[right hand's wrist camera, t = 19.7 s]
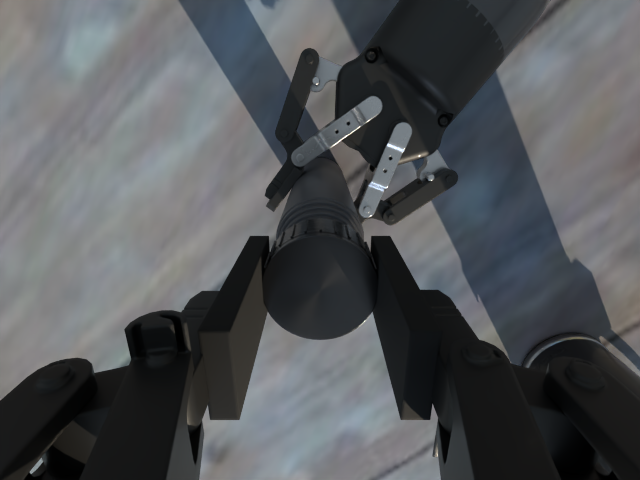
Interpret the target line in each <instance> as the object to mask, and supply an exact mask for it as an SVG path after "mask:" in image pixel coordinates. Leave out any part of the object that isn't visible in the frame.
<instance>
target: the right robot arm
mask: <svg viewBox="0 0 640 480" xmlns="http://www.w3.org/2000/svg"><path fill="white" fill-rule="evenodd" d="M269 252H270V250H269V236H250V237H249V239H248V241H247V243H246V245H245V246H244V248H243V250H242V252H241V254H240V255H239V257H238V259H237V261H236V262H235V264H234V266H233V268H232V270H231V271H230V273H229V275H228V277H227V279H226V280H225V282H224V284H223V286H222V288H221V289H220V291H201V292H200V293H199V294H197V295H196V296H194V297H193V298H191V299H190V300H189V302H188V303H187V305H186V306H185V308H184V310H183V311H182V312H177V311H173V310H164V311H157V312H152V313H149V314H146V315H143V316H141V317H139V318H137V319H135V320H134V321H132V322H131V323H130V324H129V325H128V326H127V327H126V328H125V329H124V330H125V334H126V338H127V343H128V347H129V351H130V356H131V362H130V364H129V365H128V366H125V367H121V368H117V369H112V370H107V371H102V372H97V373H94V370H93V366H92V364H91V363H90V362H89V361H88V360H87V359H81V358H71V359H64V360H59V361H56V362H53V363H50V364H49V365H47V366H45V367H42V368H40V369H38V370H37V371H35V372H34V373H33V374H31V375H30V376H28V377H27V378H26V379H25V380H23V381H22V382H21V383H20V384H19V385H18V386H17V387H15V388H14V389H13V390H12V391H11V392H10V393H9V394H8V395H6V396H5V397H4V398H3V399H2V400H1V401H0V480H199V476H200V466H201V457H202V448H203V439H204V430H203V423H202V418H203V416H204V413H205V410H206V408H207V405H208V408H209V415H210V420H239V419H240V415H241V412H242V408H243V404H244V400H245V396H246V392H247V389H248V385H249V381H250V377H251V373H252V369H253V366H254V362H255V358H256V354H257V350H258V346H259V343H260V339H261V335H262V331H263V327H264V323H265V320H266V316H267V312H268V311H267V309H266V307H265V304H264V301H263V289H262V277H263V273H264V270H265V269H263V268H264V265H265V262H266V259H267V257H268V254H269ZM371 254H372V256H373V259H374V262H375V265H376V267H377V271H376V273H377V276H378V293H377V302H376V305H375V307H374V309H373V315H374V319H375V323H376V326H377V330H378V334H379V338H380V342H381V346H382V349H383V353H384V357H385V361H386V365H387V369H388V372H389V376H390V380H391V384H392V388H393V392H394V395H395V399H396V403H397V407H398V411H399V415H400V418H401V420H430V417H431V410H432V403H433V405H434V408H435V411H436V413H437V416H438V423H437V430H436V436H435V443H434V449H433V457H437V455H438V457H439V466H440V475H441V480H640V398H639V397H638V396H637V395H635V394H634V393H633V392H632V391H631V390H630V389H629V388H627V387H626V386H625V385H624V384H623V383H622V382H620V381H619V380H618V379H617V378H616V377H615V376H613V375H612V374H611V373H609V372H608V371H606V370H605V369H603V368H602V367H600V366H597V365H595V364H593V363H591V362H589V361H586V360H582V359H579V358H575V357H565V356H562V357H557V358H553V359H552V360H551V361H550V362H549V364H548V368H547V371H546V372H545V371H540V370H536V369H531V368H526V367H521V366H518V365H514V364H511V363H510V361H509V359H508V358H507V356H506V355H505V354H504V352H503V351H501V350H500V349H499V348H497V347H496V346H494V345H492V344H490V343H487V342H485V341H482V340H479V339H478V338H477V336H476V335H475V333H474V332H473V330H472V329H471V327H470V326H469V325H468V323H467V322H466V320H465V319H464V317H463V316H461V313H460V312H459V310H458V309H456V306H455V304H454V303H453V302H452V300H451V299H450V298H449V297H448V296H447V295H445V294H444V293H442V292H441V291H439V290H420V289H419V287H418V285H417V284H416V282H415V280H414V278H413V276H412V275H411V273H410V271H409V269H408V267H407V266H406V264H405V262H404V260H403V258H402V257H401V255H400V253H399V251H398V250H397V248H396V246H395V244H394V242H393V241H392V239H391V237H390V236H371ZM599 455H600V457H601V458H602V459H603V460H604V461H605V463H606V464H607V465H608V466H609V467H610V469H611V470H612V471H611V473H608V472H607V471H606V470H605V469H604V468H603V467H602V465H601V464H600V463H599V462H598V458H599ZM41 457H42V460H43V463H42V464H41V465H40V466H39V468H38V469H37V470H36V471H35V472H33V473H32V474H30V470H31V469H32V468H33V467H34V466H35V464H36V463H37V462H38V461H39V460H40V458H41Z"/></svg>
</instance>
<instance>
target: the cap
mask: <svg viewBox="0 0 640 480" xmlns="http://www.w3.org/2000/svg"><path fill="white" fill-rule="evenodd" d="M263 269H265V270H264V273H263V277H262V289H263V301H264V304H265V307H266V309H267V311H268V312H269V314H270V315H271V317H272V318H273V319H274V320H275V322H277V323H278V324H279V325H280V326H281V327H282V328H284V329H285V330H287V331H289V332H290V333H292V334H295V335H297V336H300V337H303V338H307V339H314V340H326V339H333V338H337V337H341V336H343V335H346V334H348V333H350V332H352V331H353V330H355V329H356V328H358V327H359V326H360V325H362V324H363V323H364V322H365V321H366V319H367V318H368V317H369V316H370V314H371V313H372V311H373V309H374V307H375V305H376V302H377V293H378V276H377V273H376V271H377V267H376V265H375V262H374V259H373V256H372V254H371V253H370V250H369V247H368V245H367V242H364V240H363V239H362V238H361V237H360V235H359V232H355V231H354V230H353V229H352V228H350V227H349V226H348V224H346V225H345V224H343V223H341V222H338V221H336V220H335V219H334V220H329V219H322V217H320V219H311V220H308V219H306V221H303V222H300V223H297V224H295V223H294V224H293V226H292V227H290V228H289V229H287V230H286V231H285V232H284V231H283V232H282V234H281V236H280V237H279V238H278V239H277V241H274V243H273V246H272V249H271V252H269V254H268V257H267V259H266V262H265V265H264V268H263Z"/></svg>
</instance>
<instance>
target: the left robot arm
mask: <svg viewBox="0 0 640 480" xmlns="http://www.w3.org/2000/svg"><path fill="white" fill-rule="evenodd" d="M550 1H551V0H400V1H399V2H398V3H397V5H396V6H395V8H394V9H393V10H392V12H391V13H390V14H389V16H388V17H387V19H386V20H385V21H384V23H383V24H382V26H381V27H380V28H379V30H378V31H377V33H376V34H375V35H374V37H373V38H372V39H371V41H370V42H369V44H368V45H367V46H366V48H365V49H364V51H363V52H362V53H361V55H359V56H358V57H357V58H356V59H354V60H352V61H350V62H348V63H346V64H345V65H344V66H343V67H342V66H340V65H338V64H335V63H333V62H331V61H329V60H326V59H324V58H322V57H320V56H319V55H318V53H317V52H316V51H315V50H314V49H311V48H307V49H305V50H304V51H303V52H302V53H301V55H300V58H299V61H298V64H297V67H296V70H295V74H294V77H293V80H292V83H291V86H290V89H289V92H288V95H287V98H286V101H285V104H284V107H283V110H282V113H281V116H280V119H279V122H278V125H277V128H276V131H275V134H276V137H277V139H278V140H279V141H280V142H281V143H282V145H283V146H284V148H285V149H286V151H287V161H286V162H285V164H284V165H283V167H282V168H281V169H280V171H279V172H278V173H277V175H276V176H275V178H274V179H273V180H272V182H271V183H270V184H269V186H268V187H267V189H266V193H265V196H266V197H267V198H269V199H270V200H269V202H268V203H267V205H266V207H268V208H269V209H270V210H272V211H273V212H274V211H275V210H276V208H277V207H278V206H279V204H280V203H281V202H282V200H283V199H284V198H285V196H286V195H287V194H288V192H289V191H290V190H291V188H292V187H293V186H294V184H295V183H296V181H297V180H298V179H299V178H300V176H301V175H302V174H303V172H304V166H305V165H306V164H307V163H309V162H310V161H312V160H313V159H314V158H316V157H317V156H319V155H320V154H321V153H323V152H324V151H326V150H328V149H330V148H331V147H333V146H334V145H335V144H337V143H338V142H340V141H342V142H344V143H345V144H346V145H347V146H349V147H351V148H353V149H355V150H358V151H359V152H360V154H361V155H362V156H363V158H364V159H365V160H366V161H367V162H368V163H369V166H368V168H367V171H366V173H365V178H364V181H363V183H362V186H361V188H360V191H359V193H358V196H357V198H356V200H355V202H354V206H355V208H356V211H357V214H358V217H359V219H360V222H361V224H362V223H363V222H364V221H365V220H367V219H370V218H374V219H378V220H381V221H384V222H385V223H386V224H387V225H394V224H396V223H398V222H399V221H401V220H402V219H404V218H405V217H407V216H408V215H410V214H411V213H413V212H414V211H416V210H417V209H419V208H420V207H422V206H423V205H425V204H426V203H428V202H429V201H431V200H432V199H434V198H435V197H437V196H438V195H440V194H441V193H443V192H444V191H446V190H447V189H449V188H451V187H452V186H453V185H455V184H456V182H457V180H458V175H457V173H456V172H455V171H453V170H451V169H450V168H448V166H447V164H446V163H445V161H444V159H443V158H442V156H441V154H440V153H439V151H438V147H439V145H440V142H441V138H442V135H443V133H444V131H445V129H446V128H447V126H448V125H449V124H450V123H451V122H452V121H453V120H454V119H455V117H456V116H457V115H458V114H459V113H460V111H461V110H462V109H463V108H464V107H465V106H466V104H467V103H468V102H469V101H470V100H471V99H472V97H473V96H474V95H475V94H476V93H477V91H478V90H479V89H480V88H481V87H482V86H483V84H484V83H485V82H486V81H487V80H488V79H489V77H490V76H491V75H492V74H493V73H494V72H495V70H496V69H497V68H498V67H499V66H500V65H501V63H502V62H503V61H504V60H505V59H506V57H507V56H508V55H509V54H510V53H511V52H512V50H513V49H514V48H515V47H516V46H517V45H518V43H519V42H520V41H521V40H522V39H523V37H524V36H525V35H526V34H527V33H528V32H529V30H530V29H531V28H532V27H533V25H534V24H535V23H536V21H537V20H538V18H539V17H540V16H541V14H542V13H543V11H544V9H545V8H546V6H547V5H548V3H549V2H550ZM329 81H336V101H335V119H334V120H333V121H332V122H330V123H329V124H327V125H326V126H325V127H323V128H322V129H321V130H319V131H318V132H317V133H315V134H314V135H313V136H311V137H310V138H309V139H307V140H306V141H305V142H303V141H302V139H301V137H300V136H299V134H298V133H297V128H298V125H299V122H300V119H301V117H302V114H303V111H304V108H305V105H306V102H307V99H308V97H309V94H310V91H313V92H319V91H321V90H322V89H323V88H324V86H325V84H326V83H327V82H329ZM421 158H424V162H423V165H422V166H421V167H420V168H419V169H418V171H417V179H415V180H414V181H413V182H411V183H410V184H408V185H407V186H405V187H404V188H402V189H401V190H399V191H398V192H396V193H395V194H394V195H392V196H391V197H389V198H388V199H386V200H385V201H382V200H380V199H381V197H382V195H383V192H384V191H385V190H386V189H387V187H388V185H389V183H390V181H391V178H392V176H393V174H394V171H395V169H396V167H397V165H400V164H404V163H407V162H410V161H414V160H417V159H421ZM385 169H386V171H385ZM384 171H385V172H384ZM562 356H565V357H575V358H579V359H582V360H586V361H589V362H591V363H593V364H595V365H597V366H600V367H602V368H603V369H605V370H606V371H608V372H609V373H611V374H612V375H613V376H615V377H616V378H617V379H618V380H619V381H620V382H622V383H623V384H624V385H625V386H626V387H627V388H629V389H630V390H631V391H632V392H633V393H634V394H635V395H637V396H638V397H639V398H640V377H639V376H638V375H637V374H636V373H635V372H633V371H632V370H631V369H630V368H629V367H627V366H626V365H625V364H624V363H623V362H621V361H620V360H619V359H618V358H617V357H615V356H614V355H613V354H612V353H611V352H609V350H608V349H607V348H606V347H605V346H604V345H603V344H601V343H600V342H599V341H598V340H596V339H595V338H593V337H591V336H589V335H585V334H580V333H568V334H562V335H558V336H555V337H552V338H550V339H548V340H546V341H544V342H542V343H541V344H539V345H538V346H537V347H535V348H534V349H533V350H532V351H531V352H530V353H529V355H528V356H527V357H526V359H525V361H524V363H523V365H522V367H526V368H531V369H536V370H540V371H545V372H546V371H547V368H548V364H549V362H550V361H551V360H552V359H553V358H557V357H562ZM598 462H599V463H600V464H601V465H602V467H603V468H604V469H605V470H606V471H607V472H608V473H611V471H612V470H611V469H610V467H609V466H608V465H607V464H606V463H605V461H604V460H603V459H602V458H601V457H600V455H599V458H598Z"/></svg>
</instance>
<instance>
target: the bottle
mask: <svg viewBox="0 0 640 480" xmlns="http://www.w3.org/2000/svg"><path fill="white" fill-rule="evenodd" d="M320 217H322V219H329V220H334V219H335V220H336V221H338V222H341V223H343V224H345V225H346V224H348V226H349V227H350V228H352V229H353V230H354V231H355V232H359V235H360V237H361V238H362V239H363V240H364V232H363V228H362V225H361V222H360V219H359V217H358V214H357V211H356V208H355V206H354V203H353V200H352V197H351V195H350V192H349V189H348V186H347V184H346V181H345V178H344V175H343V173H342V170H341V169H340V167H339V166H338V165H337V164H336V163H335V162H334V161H332V160H330V159H327V158H323V157H317V158H314V159H313V160H312V161H310V162H309V163H307V164H306V165H305V166H304V172H303V174H302V175H301V176H300V178H299V179H298V180H297V181H296V183H295V184H294V186H293V187H292V189H291V192H290V195H289V198H288V200H287V203H286V206H285V209H284V211H283V214H282V217H281V220H280V222H279V225H278V229H277V234H276V241H277V239H278V238H279V237H280V236H281V234H282V232H283V231H284V232H285V231H286V230H287V229H289V228H290V227H292V226H293V224H294V223H295V224H297V223H300V222H303V221H306V219H308V220H311V219H320Z"/></svg>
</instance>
